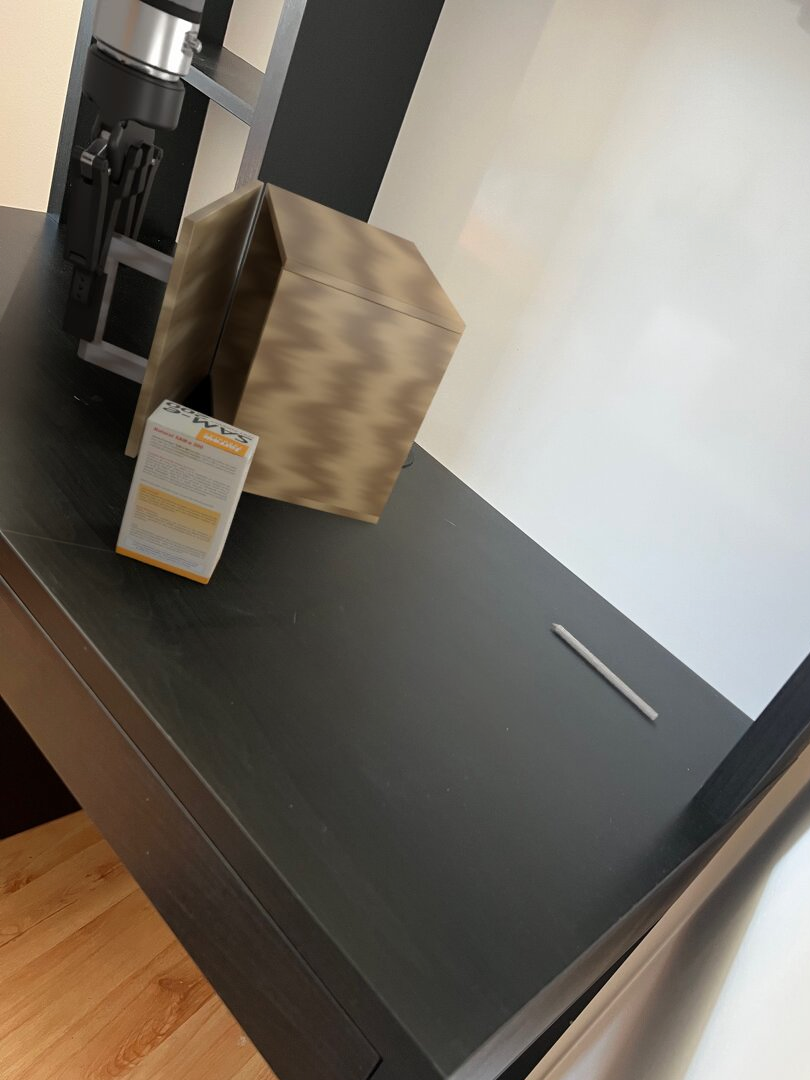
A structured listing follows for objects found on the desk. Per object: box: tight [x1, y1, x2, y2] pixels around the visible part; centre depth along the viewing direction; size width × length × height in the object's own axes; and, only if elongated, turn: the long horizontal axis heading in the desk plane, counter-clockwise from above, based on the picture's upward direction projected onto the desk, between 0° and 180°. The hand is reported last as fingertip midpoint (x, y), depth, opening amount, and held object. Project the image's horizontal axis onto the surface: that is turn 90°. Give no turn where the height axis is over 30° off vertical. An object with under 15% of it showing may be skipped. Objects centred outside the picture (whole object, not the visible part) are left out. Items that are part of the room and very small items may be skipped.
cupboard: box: [209, 182, 467, 525], centre depth 94 cm, size 18×26×24 cm
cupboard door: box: [77, 178, 265, 459], centre depth 88 cm, size 8×26×24 cm, turn 177°
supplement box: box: [115, 400, 259, 585], centre depth 71 cm, size 8×5×13 cm, turn 88°
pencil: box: [552, 622, 659, 721], centre depth 89 cm, size 1×1×15 cm
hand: (84, 331), depth 80 cm, fingers closed on cupboard door, 2 cm apart
